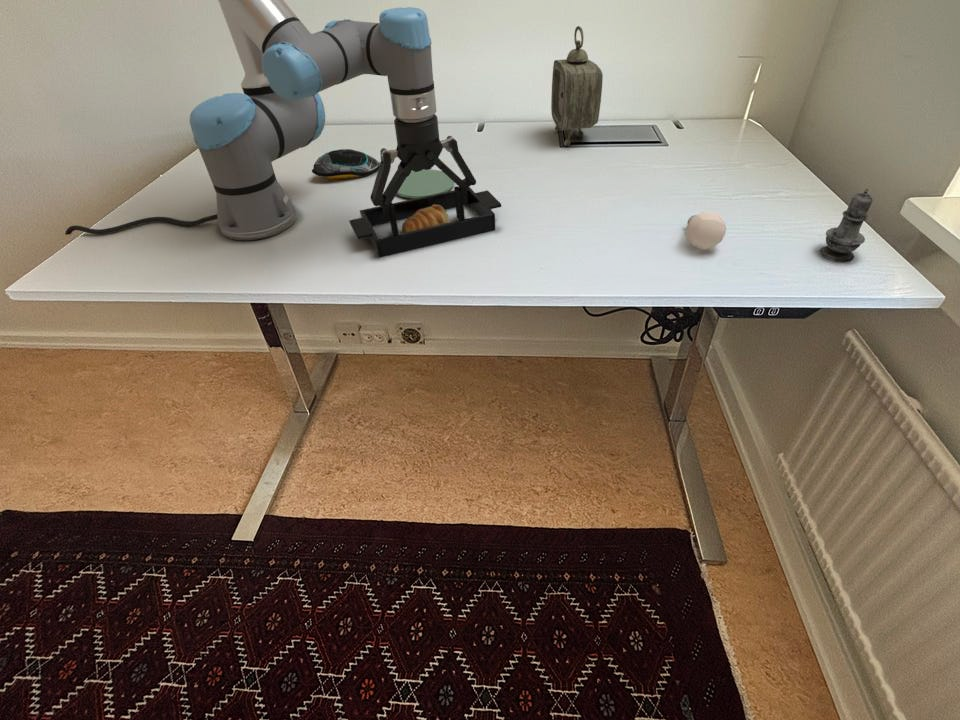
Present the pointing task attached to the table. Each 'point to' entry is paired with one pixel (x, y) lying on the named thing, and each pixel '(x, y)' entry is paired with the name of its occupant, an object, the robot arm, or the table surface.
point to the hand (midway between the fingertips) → (428, 227)
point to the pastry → (426, 218)
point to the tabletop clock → (576, 91)
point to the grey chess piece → (848, 230)
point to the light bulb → (705, 230)
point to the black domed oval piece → (345, 164)
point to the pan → (428, 227)
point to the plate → (425, 184)
